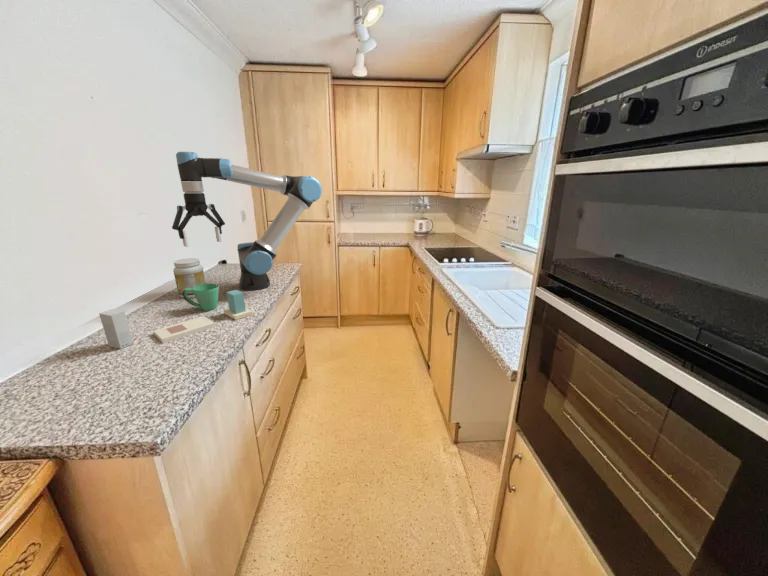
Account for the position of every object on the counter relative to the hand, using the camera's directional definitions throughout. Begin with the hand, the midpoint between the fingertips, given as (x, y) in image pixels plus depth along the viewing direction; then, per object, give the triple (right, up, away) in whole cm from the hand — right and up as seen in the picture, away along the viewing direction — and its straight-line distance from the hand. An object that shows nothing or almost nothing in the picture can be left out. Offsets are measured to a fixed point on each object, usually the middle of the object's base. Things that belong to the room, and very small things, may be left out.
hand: (203, 244), depth 136 cm
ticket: (+5, -35, -20) cm, 40 cm away
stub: (+18, -30, -6) cm, 35 cm away
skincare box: (-10, -38, -30) cm, 50 cm away
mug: (0, -28, 0) cm, 28 cm away
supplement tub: (-15, -22, +17) cm, 32 cm away
